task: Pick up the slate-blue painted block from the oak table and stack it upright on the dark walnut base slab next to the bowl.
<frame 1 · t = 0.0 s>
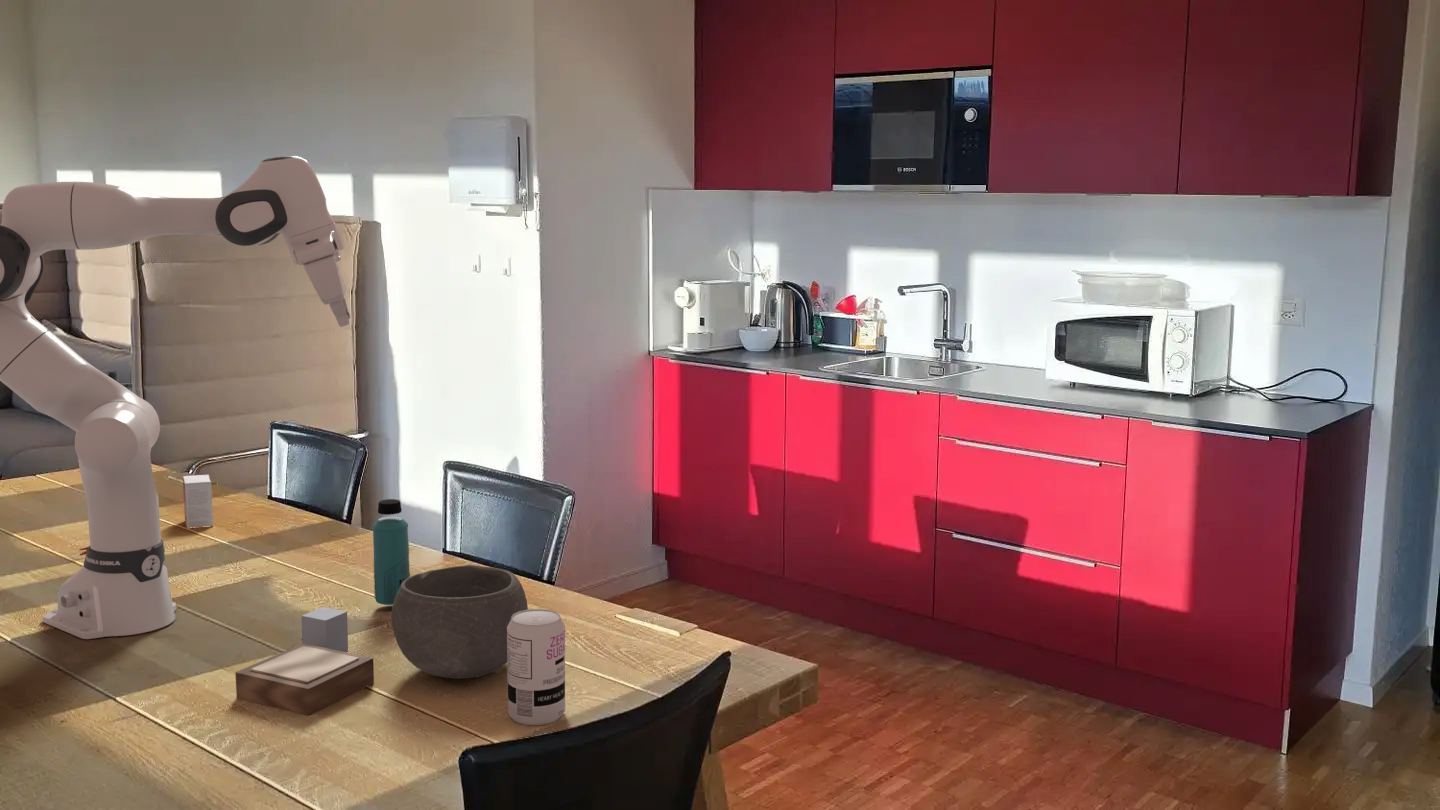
hand: (345, 322, 222), 52 cm above the table, tool tilted 20°, fingers open, 8 cm apart
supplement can: (536, 717, 185), on the table
block: (325, 654, 207), on the table
bowl: (461, 673, 201), on the table
base: (306, 690, 192), on the table
beverage bottle: (392, 608, 231), on the table
small box: (199, 525, 286), on the table
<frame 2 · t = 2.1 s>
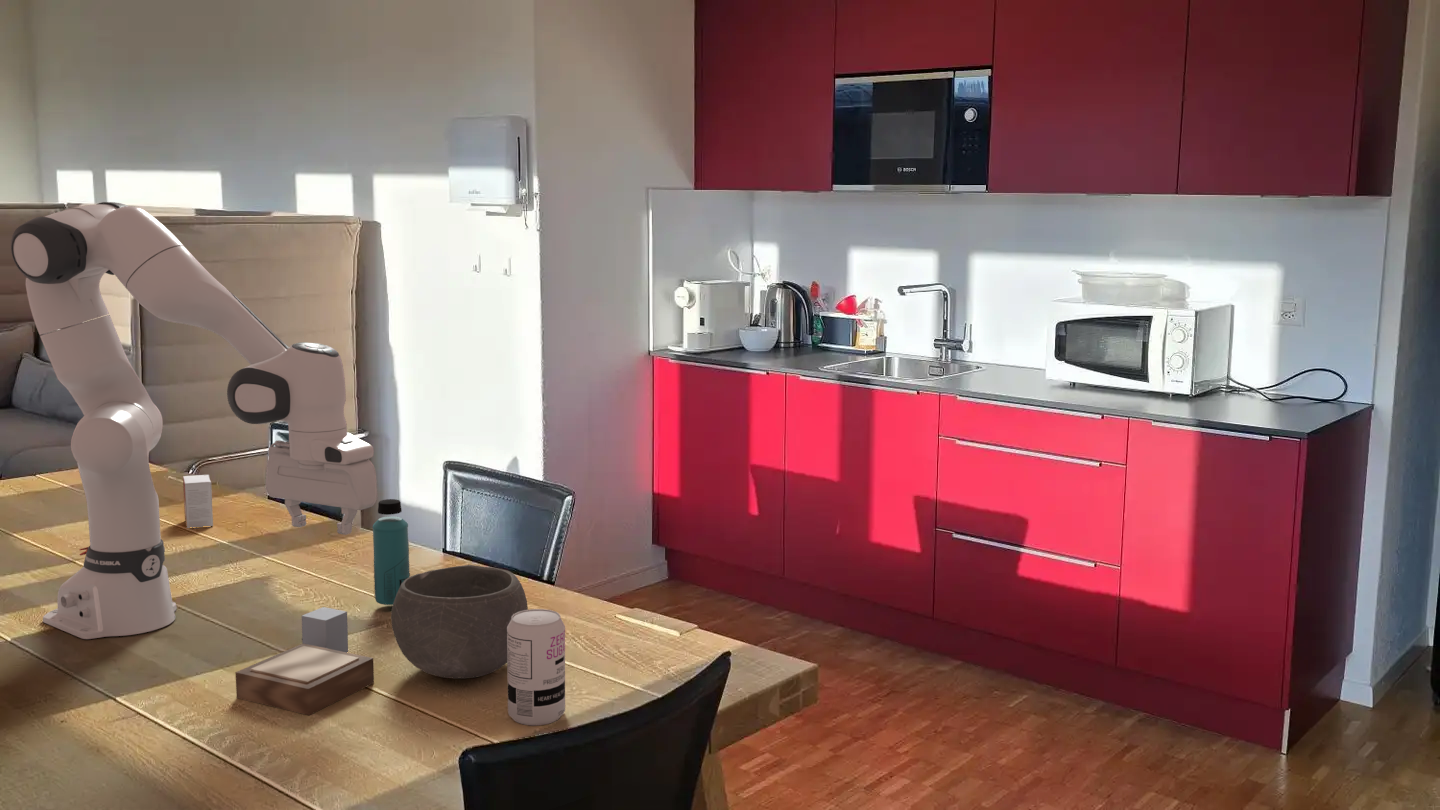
hand: (321, 529, 204), 21 cm above the table, tool pointing down, fingers open, 8 cm apart
nothing on the table moved.
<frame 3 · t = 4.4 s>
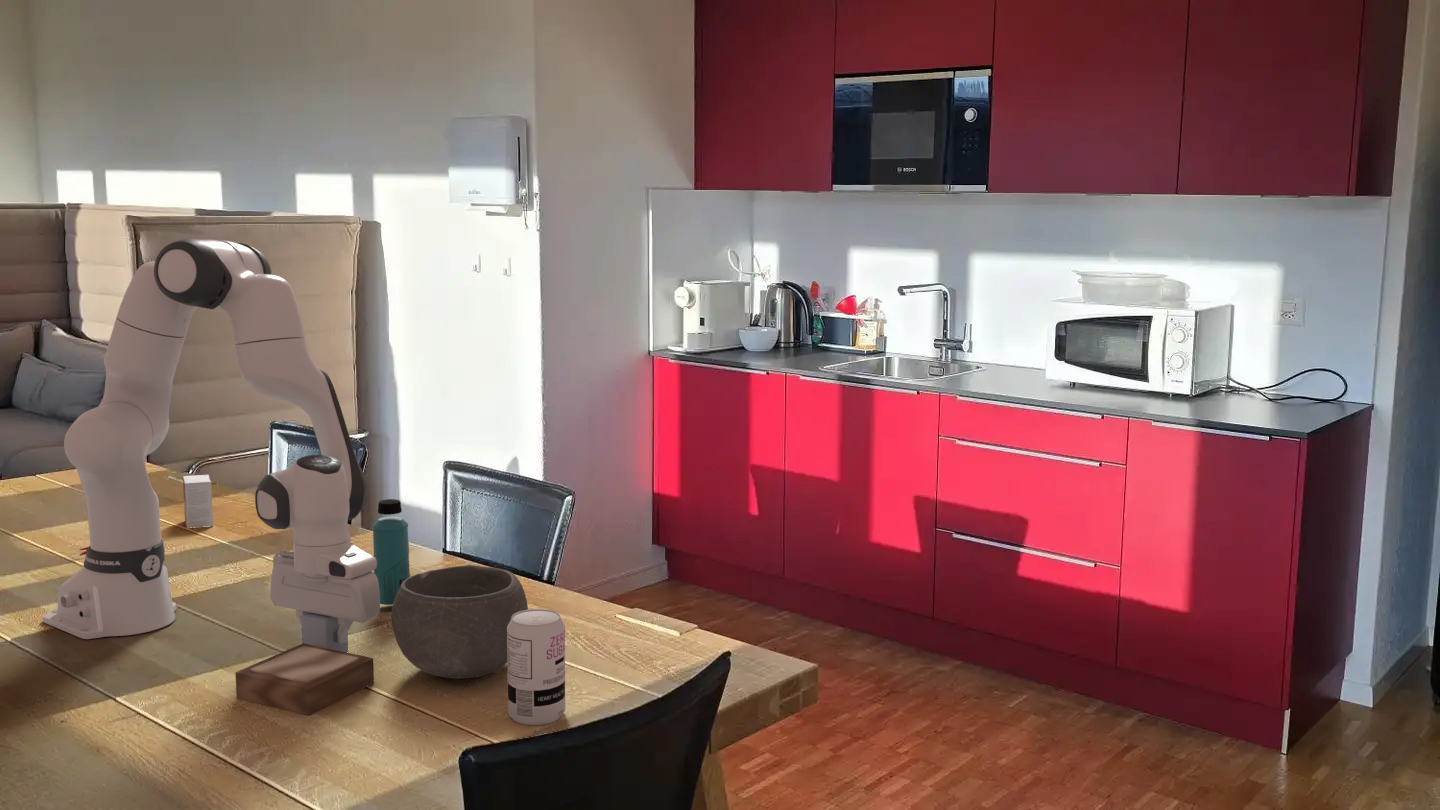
hand: (325, 638, 207), 3 cm above the table, tool pointing down, fingers closed on block, 5 cm apart
block: (325, 654, 207), on the table, touching gripper
everything else where it was.
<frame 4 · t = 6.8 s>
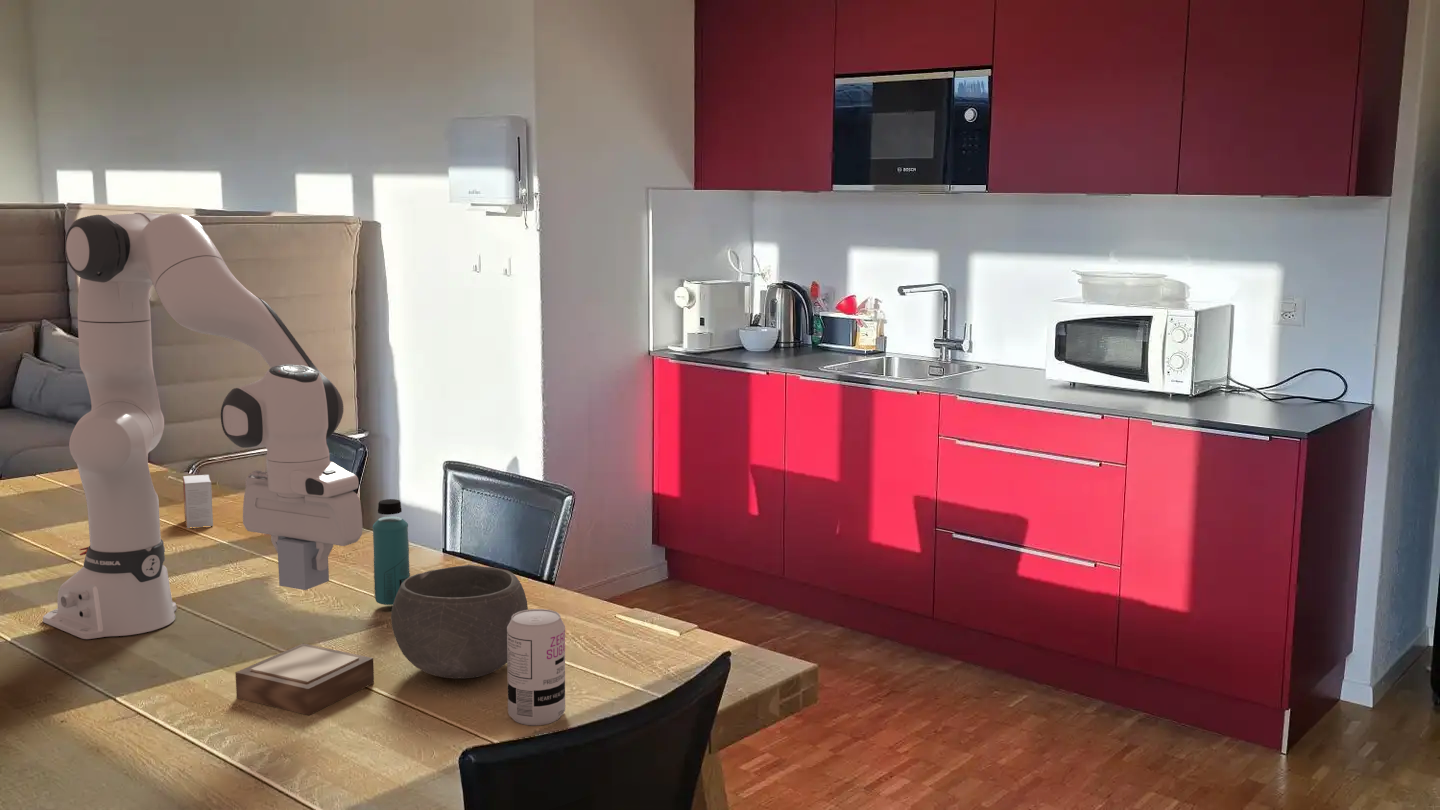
hand: (303, 566, 189), 19 cm above the table, tool pointing down, fingers closed on block, 5 cm apart
block: (304, 583, 190), point 17 cm above the table, touching gripper
everything else where it was.
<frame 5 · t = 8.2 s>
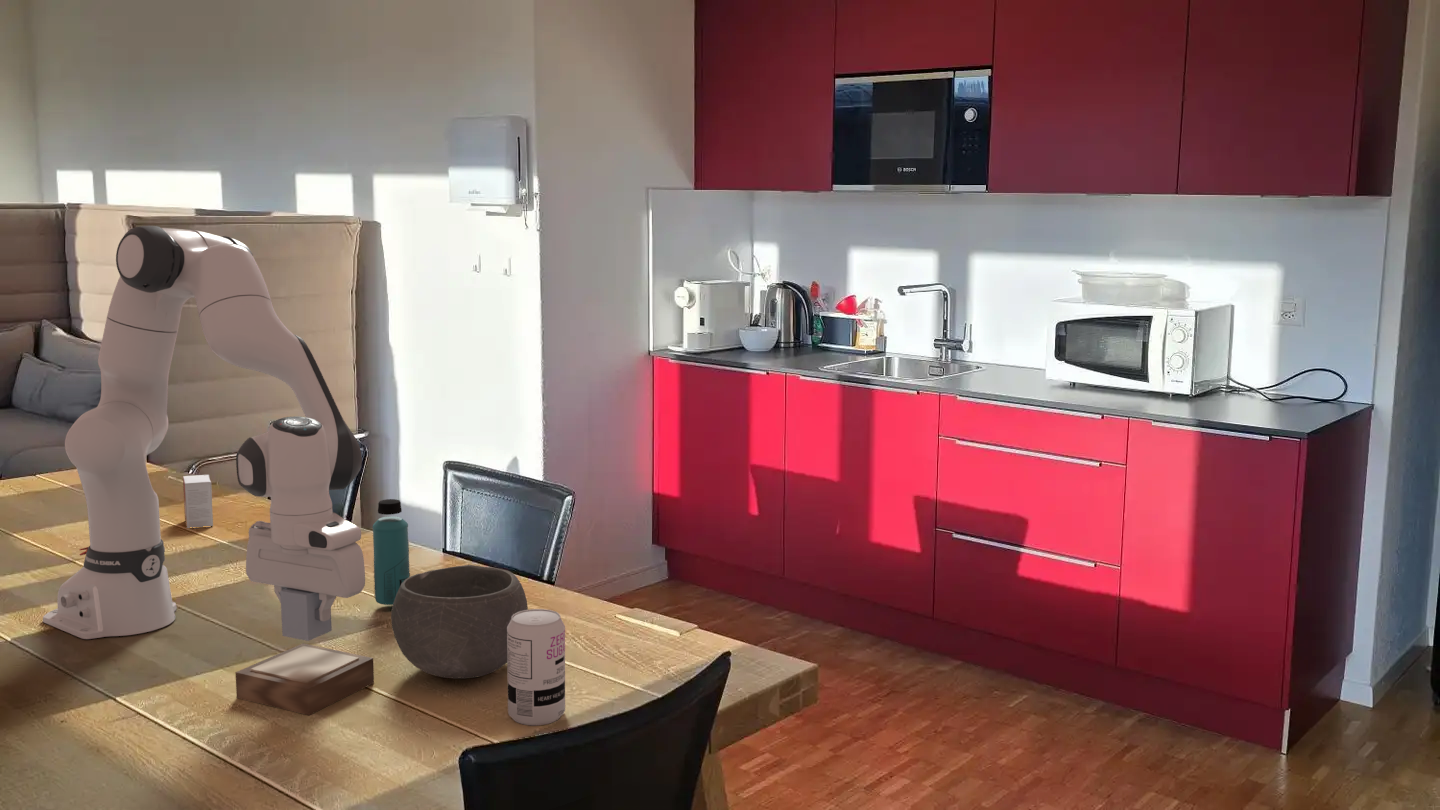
hand: (306, 616, 191), 12 cm above the table, tool pointing down, fingers closed on block, 5 cm apart
block: (307, 633, 191), point 9 cm above the table, touching gripper
everything else where it was.
when the fingers open (8 cm above the table, at t = 9.4 s): block stays where it is, resting on base.
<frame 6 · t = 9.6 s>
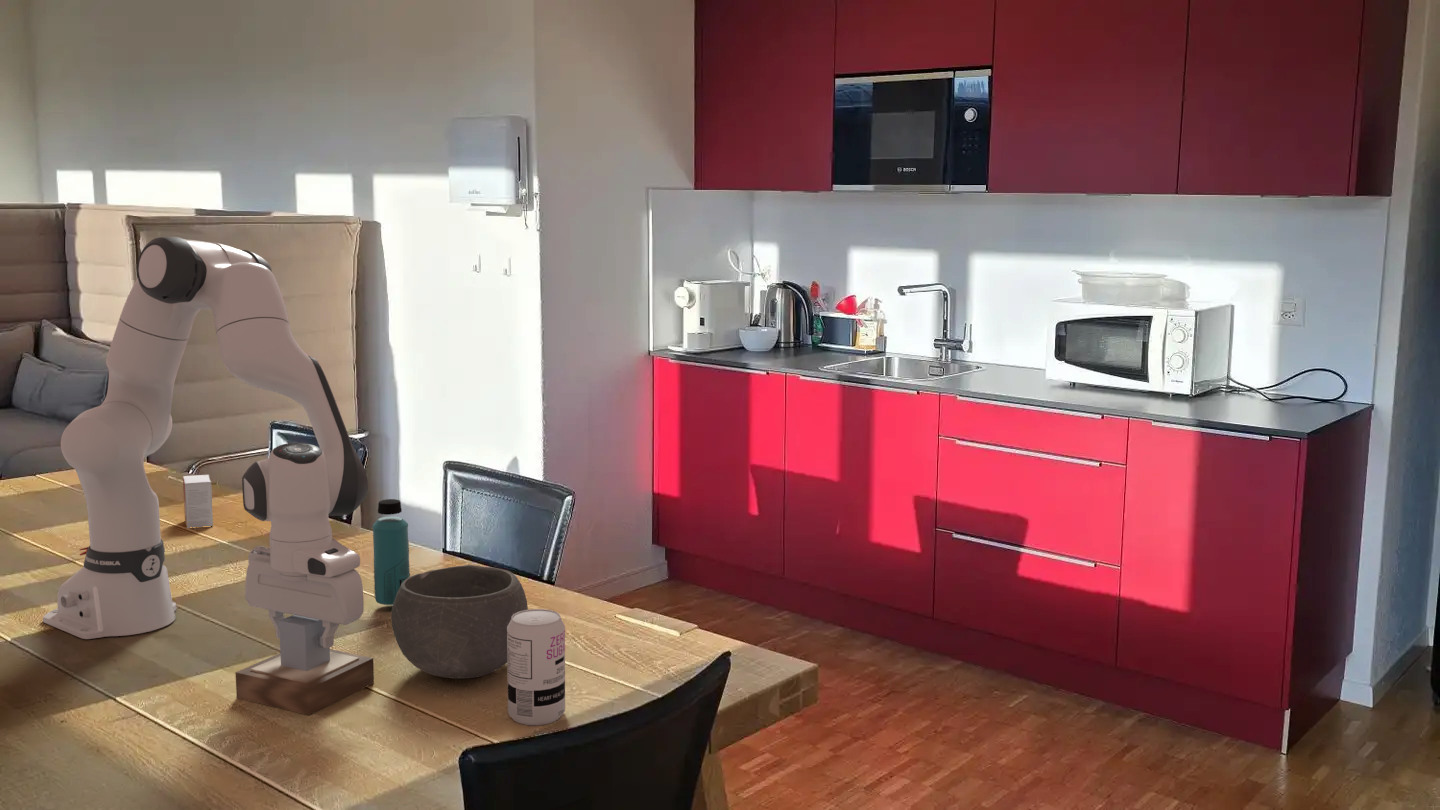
hand: (304, 642, 191), 8 cm above the table, tool pointing down, fingers open, 7 cm apart
block: (305, 662, 192), point 4 cm above the table, touching base
everything else where it was.
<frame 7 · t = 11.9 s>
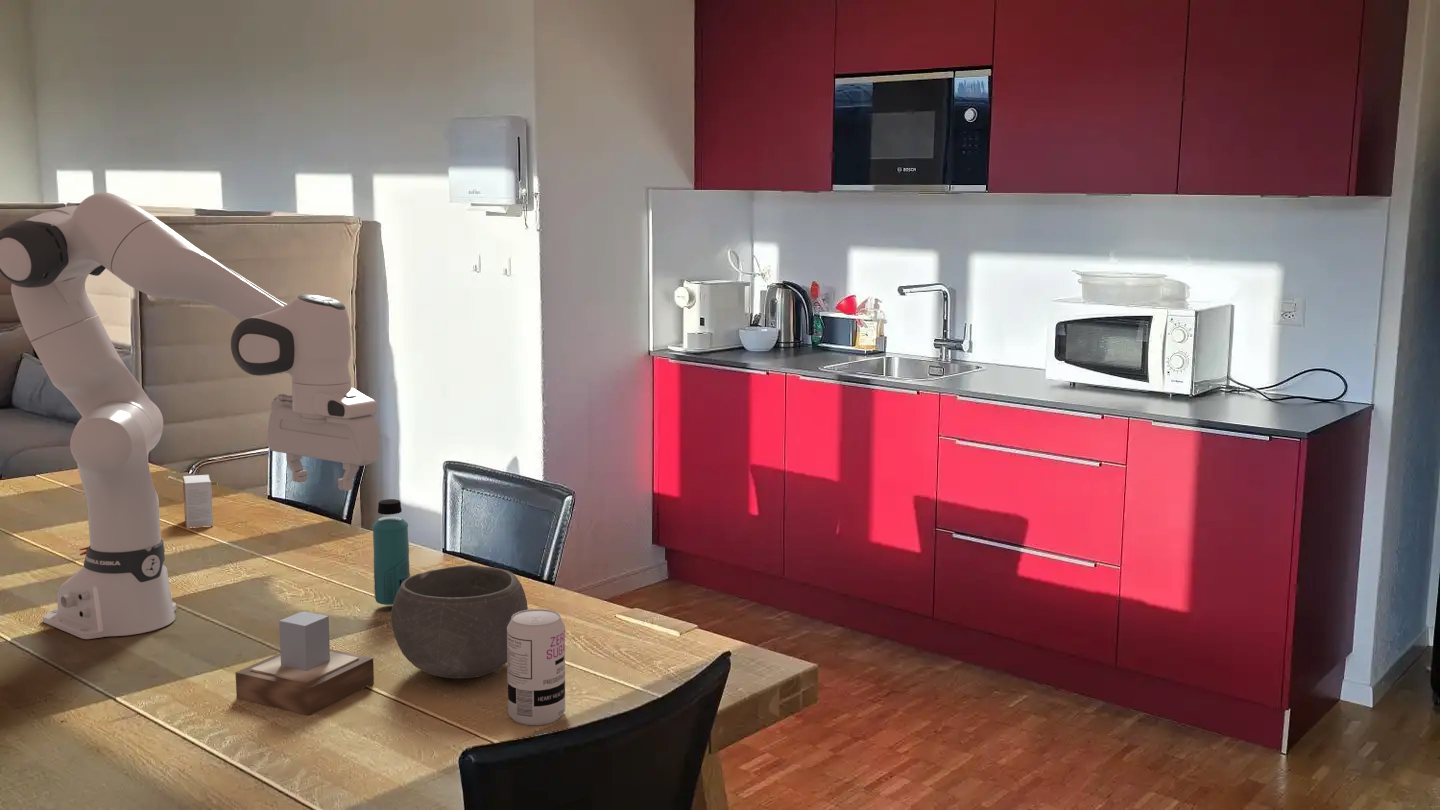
hand: (322, 485, 201), 29 cm above the table, tool pointing down, fingers open, 8 cm apart
nothing on the table moved.
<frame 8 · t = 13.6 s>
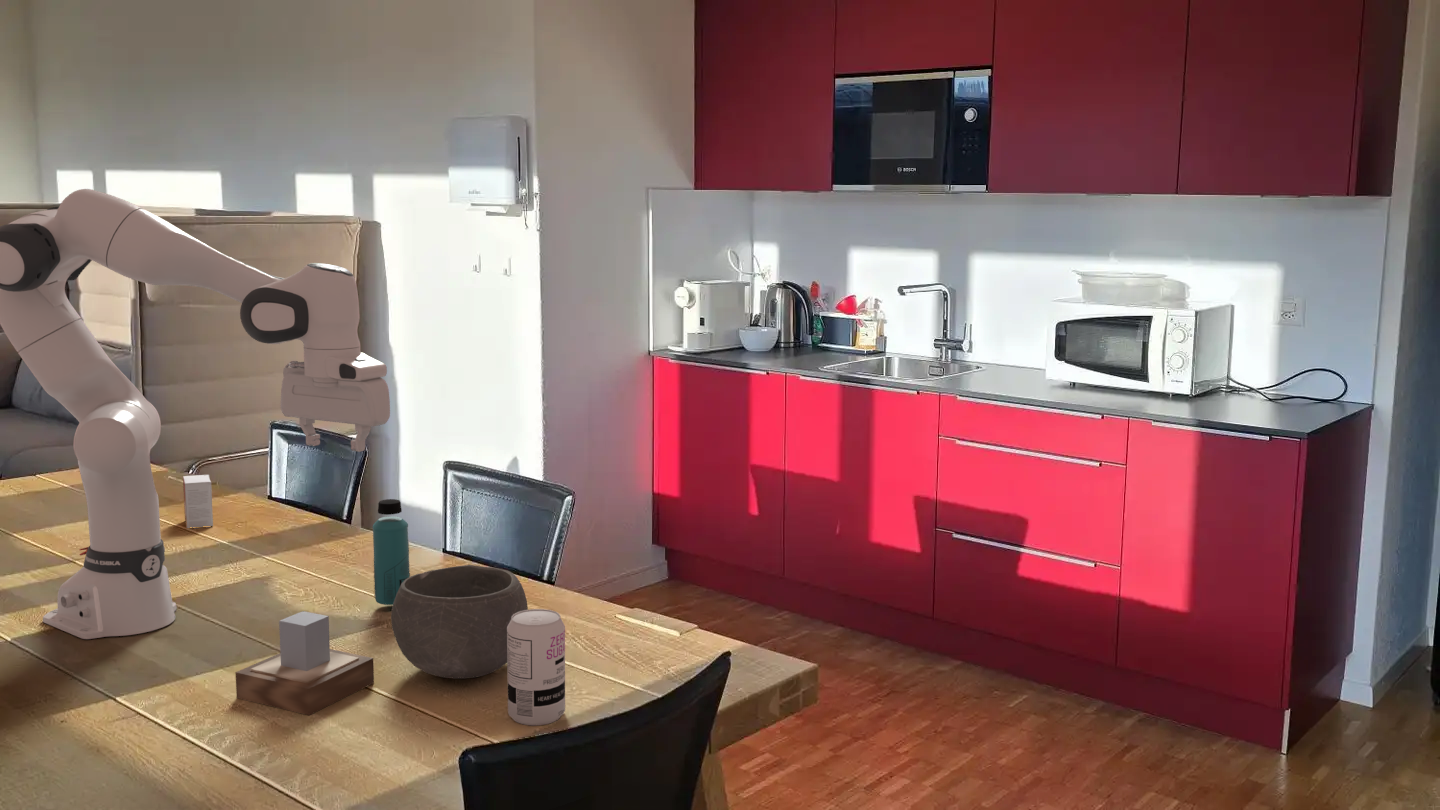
hand: (335, 448, 208), 33 cm above the table, tool pointing down, fingers open, 8 cm apart
nothing on the table moved.
at the end: block inside the target area on the base (0.1 cm from its centre), point 4.3 cm above the base's base; block tilted 0°; the gripper is holding nothing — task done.
